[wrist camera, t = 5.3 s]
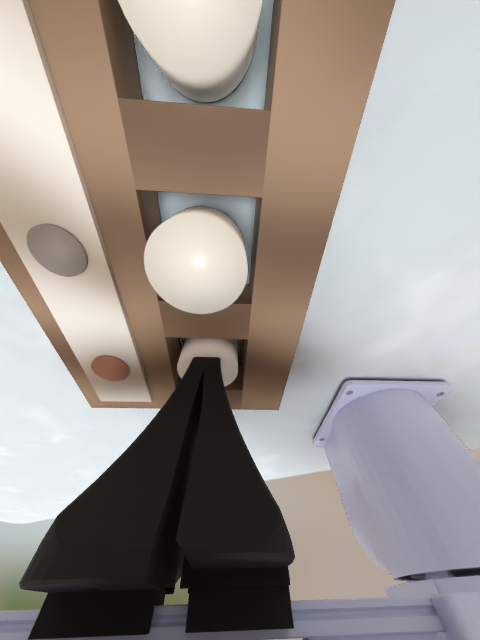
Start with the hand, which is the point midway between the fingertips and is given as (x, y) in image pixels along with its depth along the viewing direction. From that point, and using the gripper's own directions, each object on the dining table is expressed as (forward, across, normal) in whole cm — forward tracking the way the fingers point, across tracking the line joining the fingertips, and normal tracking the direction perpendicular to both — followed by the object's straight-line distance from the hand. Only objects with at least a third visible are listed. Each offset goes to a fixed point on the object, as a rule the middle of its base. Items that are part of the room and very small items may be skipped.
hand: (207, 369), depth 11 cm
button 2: (+2, 0, 0) cm, 2 cm away
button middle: (+1, 0, -6) cm, 6 cm away
